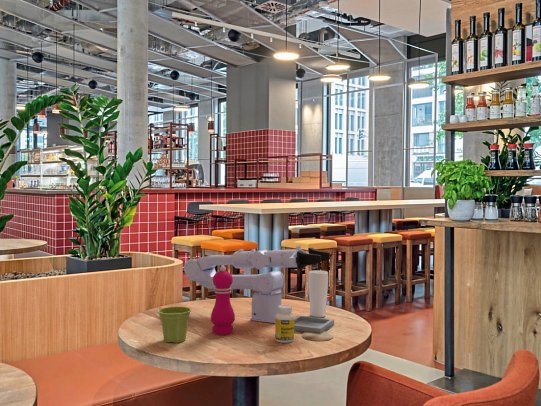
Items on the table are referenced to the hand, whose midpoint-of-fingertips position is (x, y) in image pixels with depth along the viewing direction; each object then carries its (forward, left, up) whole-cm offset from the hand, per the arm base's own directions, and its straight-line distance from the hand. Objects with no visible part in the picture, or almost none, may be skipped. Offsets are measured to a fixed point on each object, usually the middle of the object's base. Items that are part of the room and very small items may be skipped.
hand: (325, 257), depth 164 cm
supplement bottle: (-5, -19, -22) cm, 29 cm away
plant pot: (-33, -33, -22) cm, 52 cm away
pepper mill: (-25, -20, -22) cm, 39 cm away
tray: (-4, -3, -22) cm, 22 cm away
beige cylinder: (-7, +12, -22) cm, 26 cm away
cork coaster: (+2, -11, -22) cm, 24 cm away
